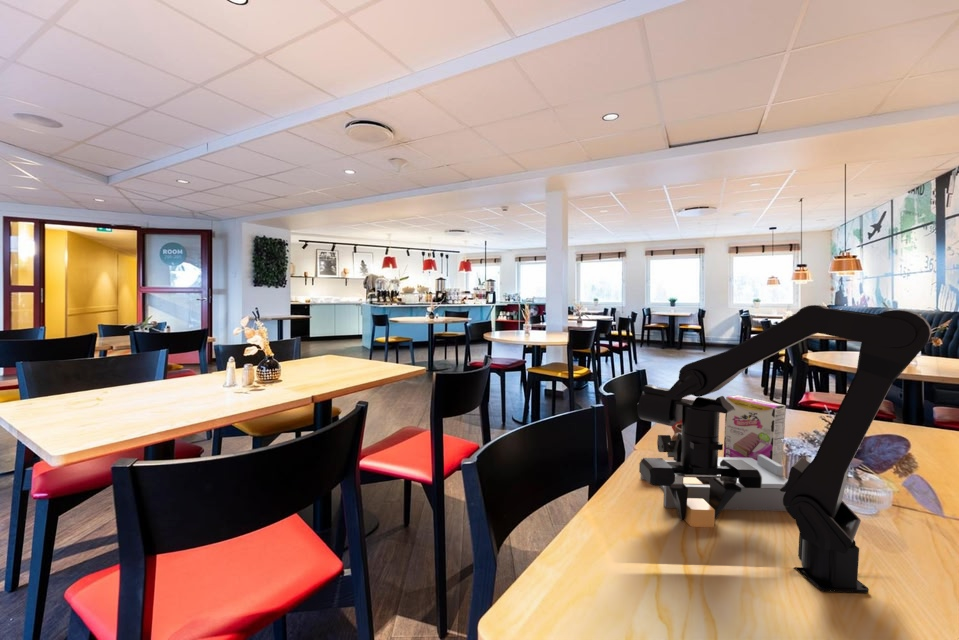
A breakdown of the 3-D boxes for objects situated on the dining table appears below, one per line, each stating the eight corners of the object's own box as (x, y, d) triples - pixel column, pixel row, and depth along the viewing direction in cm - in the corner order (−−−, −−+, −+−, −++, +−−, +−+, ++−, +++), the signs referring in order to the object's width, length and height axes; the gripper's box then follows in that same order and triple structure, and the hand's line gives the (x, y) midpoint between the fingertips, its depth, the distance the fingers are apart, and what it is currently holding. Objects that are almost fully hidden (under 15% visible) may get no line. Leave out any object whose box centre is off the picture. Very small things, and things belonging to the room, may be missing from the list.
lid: (795, 488, 75) (796, 473, 75) (734, 487, 75) (734, 472, 75) (751, 461, 88) (752, 448, 88) (699, 460, 88) (699, 447, 88)
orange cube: (713, 532, 70) (714, 510, 70) (690, 532, 70) (691, 509, 70) (701, 520, 74) (702, 498, 74) (679, 519, 74) (680, 498, 74)
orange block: (702, 504, 77) (703, 483, 77) (681, 503, 78) (681, 483, 77) (692, 494, 81) (692, 474, 81) (671, 493, 82) (672, 474, 81)
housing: (794, 515, 75) (795, 489, 75) (665, 512, 76) (666, 486, 76) (750, 484, 88) (751, 461, 88) (640, 481, 89) (641, 459, 89)
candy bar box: (722, 461, 101) (724, 396, 100) (734, 458, 103) (736, 394, 102) (771, 479, 91) (774, 407, 90) (783, 475, 93) (786, 404, 92)
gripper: (727, 420, 79) (724, 498, 80) (630, 418, 79) (627, 496, 80) (766, 439, 68) (762, 530, 68) (652, 437, 68) (650, 528, 69)
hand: (696, 519), depth 72 cm, fingers open, 5 cm apart
